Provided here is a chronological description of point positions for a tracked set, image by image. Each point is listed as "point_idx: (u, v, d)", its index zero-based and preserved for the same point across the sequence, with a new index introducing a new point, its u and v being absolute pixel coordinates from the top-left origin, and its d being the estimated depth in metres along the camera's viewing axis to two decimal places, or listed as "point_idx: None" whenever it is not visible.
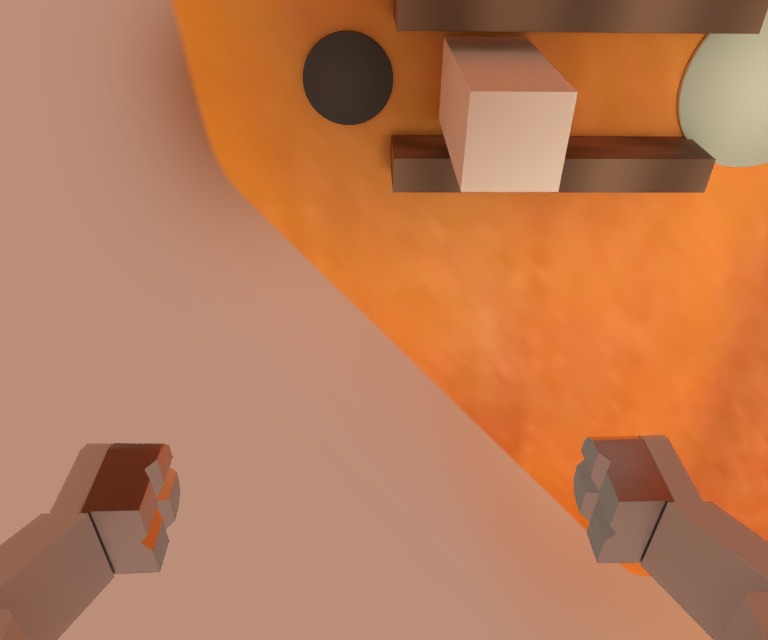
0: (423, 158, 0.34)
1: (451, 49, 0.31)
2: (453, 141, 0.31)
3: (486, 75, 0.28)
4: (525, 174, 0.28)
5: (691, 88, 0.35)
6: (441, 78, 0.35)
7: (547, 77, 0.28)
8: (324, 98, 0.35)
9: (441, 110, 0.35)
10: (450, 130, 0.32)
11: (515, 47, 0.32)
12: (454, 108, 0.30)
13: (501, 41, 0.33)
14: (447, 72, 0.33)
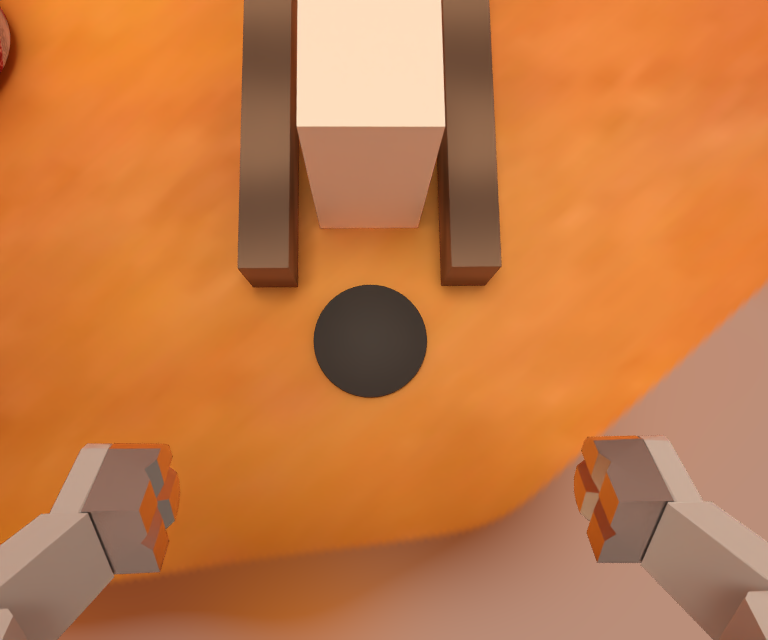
0: (450, 228, 0.25)
1: (315, 205, 0.26)
2: (403, 172, 0.22)
3: None
4: (415, 41, 0.19)
5: None
6: (367, 227, 0.29)
7: None
8: (392, 370, 0.27)
9: (400, 220, 0.28)
10: (398, 185, 0.24)
11: None
12: (363, 178, 0.23)
13: None
14: (345, 210, 0.26)
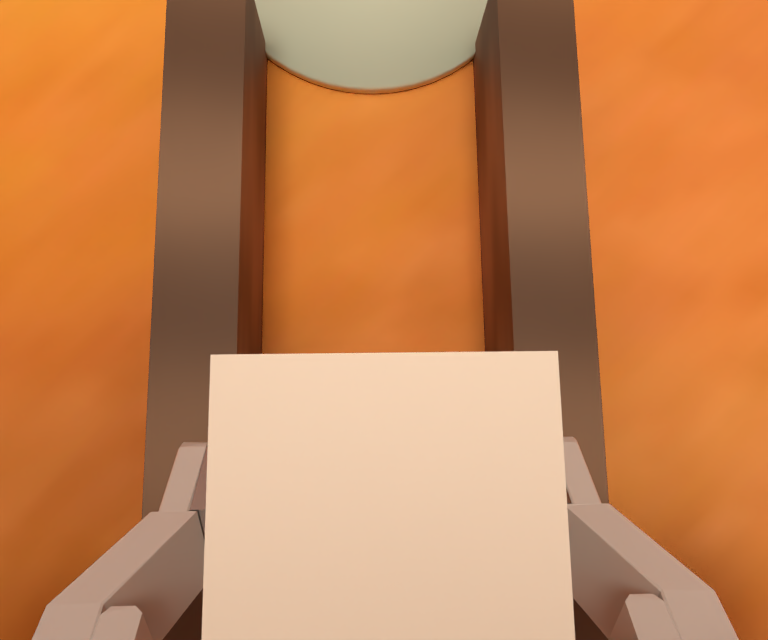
0: None
1: None
2: None
3: None
4: (499, 483, 0.08)
5: (380, 70, 0.19)
6: None
7: None
8: None
9: None
10: None
11: None
12: None
13: None
14: None
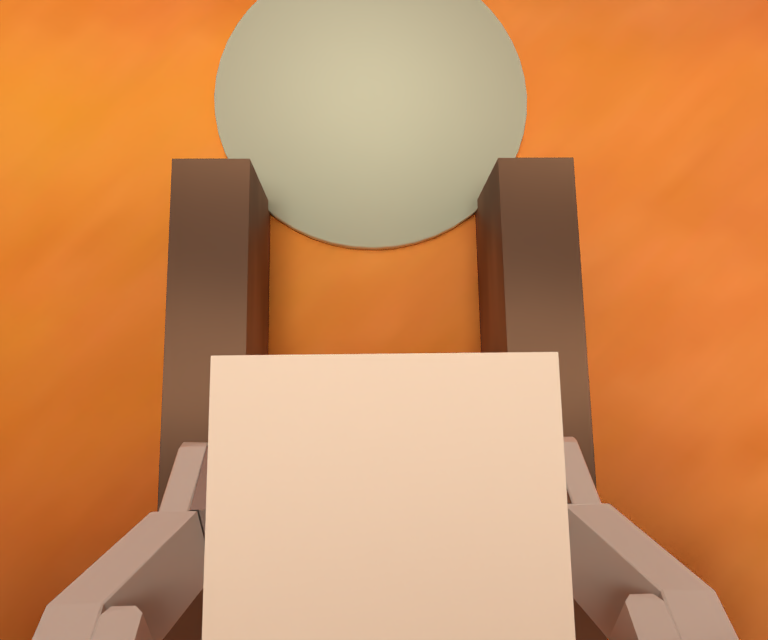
0: None
1: None
2: None
3: None
4: (499, 484, 0.08)
5: (382, 229, 0.19)
6: None
7: None
8: None
9: None
10: None
11: None
12: None
13: None
14: None
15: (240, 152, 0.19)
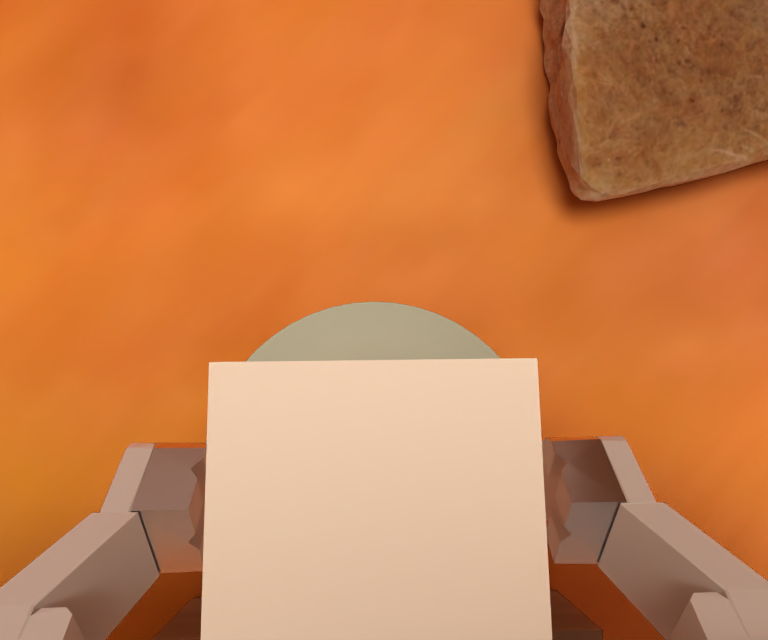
0: None
1: None
2: None
3: None
4: (480, 482, 0.08)
5: None
6: None
7: None
8: None
9: None
10: None
11: None
12: None
13: None
14: None
15: None
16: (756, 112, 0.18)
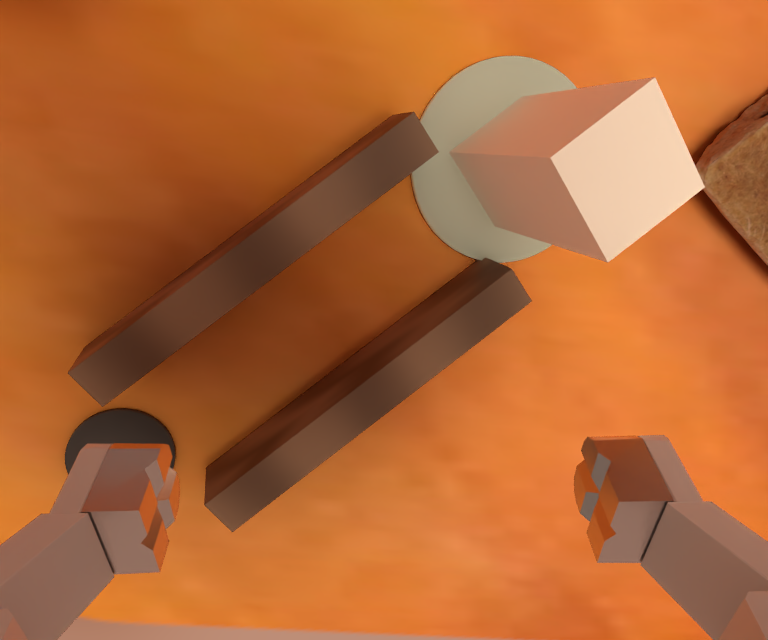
0: (232, 483, 0.29)
1: (472, 152, 0.27)
2: (547, 226, 0.25)
3: (540, 138, 0.23)
4: (659, 195, 0.22)
5: (440, 222, 0.31)
6: (472, 189, 0.31)
7: (601, 95, 0.23)
8: None
9: (495, 215, 0.30)
10: (531, 220, 0.27)
11: (526, 107, 0.28)
12: (523, 196, 0.25)
13: (505, 115, 0.29)
14: (481, 176, 0.28)
15: (434, 114, 0.29)
16: None
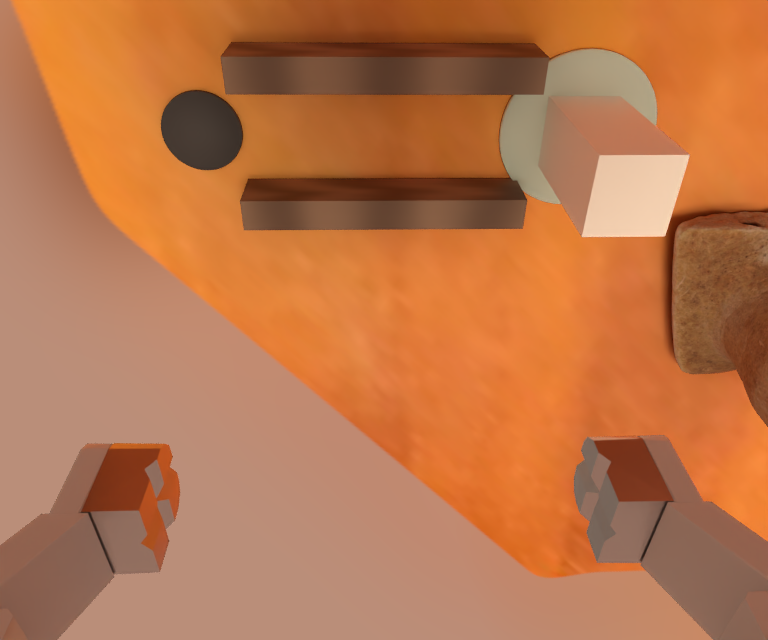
0: (266, 200, 0.39)
1: (562, 110, 0.36)
2: (567, 191, 0.35)
3: (605, 137, 0.33)
4: (638, 222, 0.33)
5: (508, 137, 0.40)
6: (543, 131, 0.40)
7: (657, 139, 0.32)
8: (183, 147, 0.40)
9: (543, 159, 0.40)
10: (561, 180, 0.36)
11: (616, 107, 0.37)
12: (569, 163, 0.35)
13: (601, 100, 0.38)
14: (555, 128, 0.37)
15: (559, 64, 0.38)
16: (694, 293, 0.45)
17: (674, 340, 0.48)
